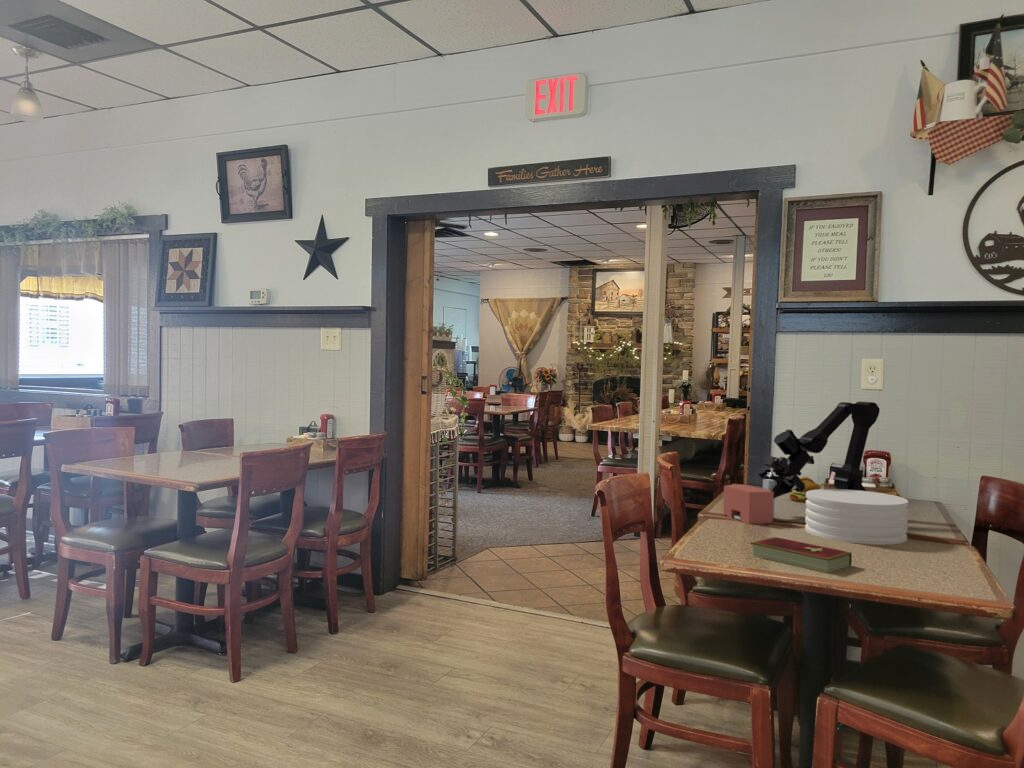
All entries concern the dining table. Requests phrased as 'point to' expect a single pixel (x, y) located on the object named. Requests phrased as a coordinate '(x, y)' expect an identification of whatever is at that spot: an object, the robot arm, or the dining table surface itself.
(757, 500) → the block
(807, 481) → the cheeseburger
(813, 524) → the plate stack
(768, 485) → the light blue l-shaped piece
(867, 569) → the dining table surface
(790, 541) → the hardcover book
